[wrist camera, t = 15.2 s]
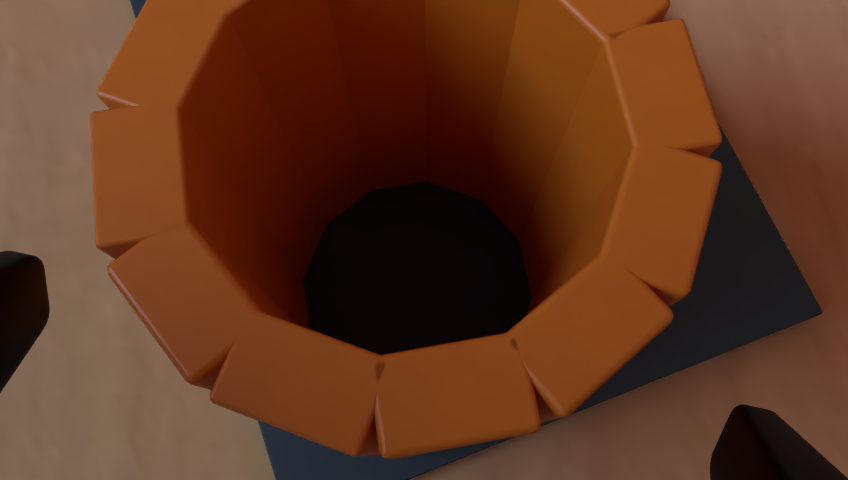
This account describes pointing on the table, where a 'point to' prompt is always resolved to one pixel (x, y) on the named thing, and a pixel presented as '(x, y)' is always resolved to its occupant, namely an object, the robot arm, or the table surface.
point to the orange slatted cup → (392, 166)
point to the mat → (516, 296)
